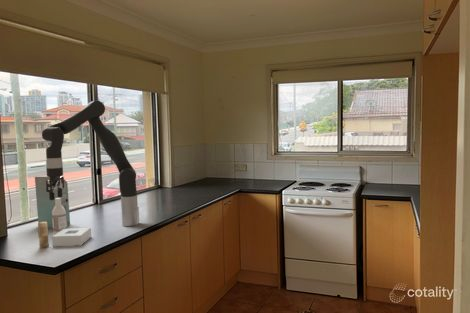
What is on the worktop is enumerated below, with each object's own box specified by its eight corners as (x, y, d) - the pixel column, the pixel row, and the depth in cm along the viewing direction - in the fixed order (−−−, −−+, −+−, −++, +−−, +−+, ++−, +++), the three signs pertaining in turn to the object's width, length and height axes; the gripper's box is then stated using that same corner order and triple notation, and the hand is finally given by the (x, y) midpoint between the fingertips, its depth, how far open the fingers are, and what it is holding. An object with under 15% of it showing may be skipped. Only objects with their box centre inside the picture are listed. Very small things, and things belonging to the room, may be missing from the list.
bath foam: (53, 233, 210) (51, 197, 208) (67, 232, 213) (64, 196, 211) (53, 237, 204) (50, 200, 202) (67, 235, 206) (65, 198, 205)
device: (70, 224, 229) (67, 175, 226) (61, 228, 222) (57, 176, 219) (48, 223, 234) (44, 174, 231) (38, 226, 226) (34, 176, 224)
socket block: (91, 237, 202) (90, 227, 201) (81, 245, 188) (80, 235, 187) (64, 238, 201) (63, 228, 201) (52, 246, 187) (51, 236, 187)
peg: (50, 245, 189) (48, 221, 188) (46, 248, 185) (44, 223, 184) (42, 245, 189) (40, 221, 188) (38, 248, 185) (36, 224, 184)
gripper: (55, 168, 186) (56, 201, 188) (68, 165, 201) (69, 195, 202) (39, 168, 186) (41, 201, 188) (54, 165, 201) (55, 196, 202)
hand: (56, 198), depth 195 cm, fingers open, 8 cm apart
